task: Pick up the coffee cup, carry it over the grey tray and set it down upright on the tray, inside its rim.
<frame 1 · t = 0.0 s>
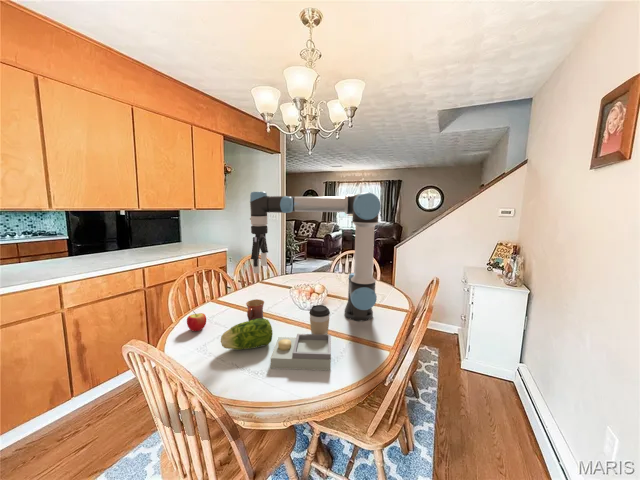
hand: (260, 269, 127), 28 cm above the table, fingers open, 13 cm apart
apple: (197, 330, 125), on the table
mug: (254, 323, 132), on the table
grey tray: (302, 357, 104), on the table
lettuce: (247, 348, 111), on the table
coffee cup: (319, 339, 118), on the table
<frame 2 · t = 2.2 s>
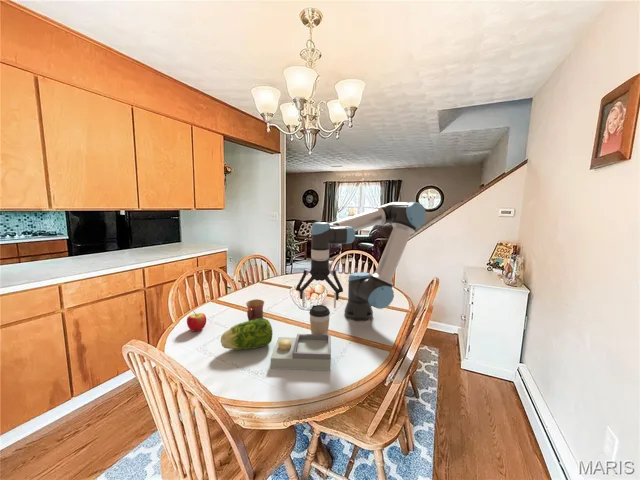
hand: (319, 306, 115), 15 cm above the table, fingers open, 13 cm apart
nothing on the table moved.
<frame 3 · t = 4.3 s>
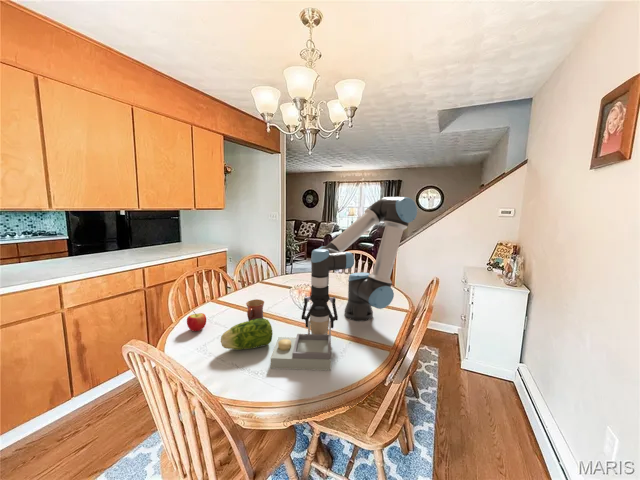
hand: (319, 334, 117), 2 cm above the table, fingers closed on coffee cup, 8 cm apart
coffee cup: (319, 339, 118), on the table, touching gripper
everything else where it was.
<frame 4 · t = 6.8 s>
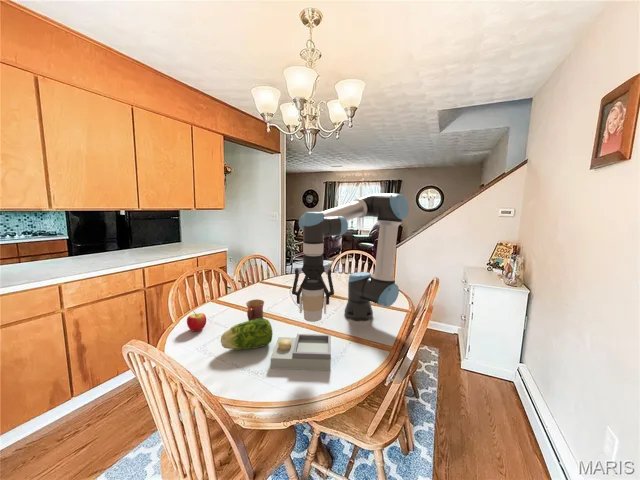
hand: (312, 311, 101), 19 cm above the table, fingers closed on coffee cup, 8 cm apart
coffee cup: (312, 318, 102), point 16 cm above the table, touching gripper
everything else where it was.
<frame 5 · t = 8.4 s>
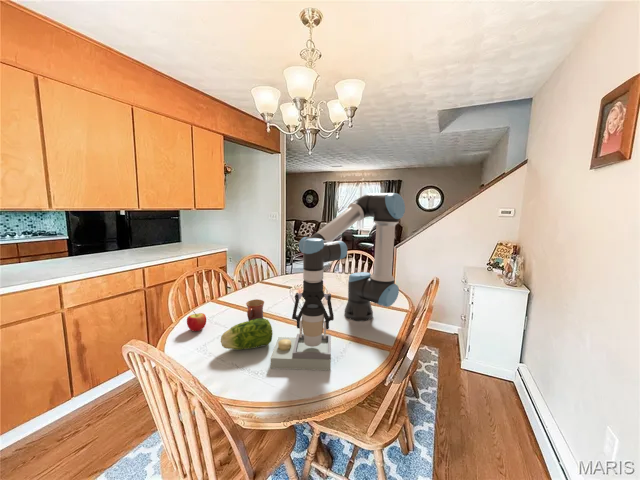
hand: (312, 336, 103), 9 cm above the table, fingers closed on coffee cup, 8 cm apart
coffee cup: (312, 342, 103), point 7 cm above the table, touching gripper
everything else where it was.
when the fingers open (8 cm above the table, at t = 9.6 s): coffee cup drops 1 cm, resting on grey tray.
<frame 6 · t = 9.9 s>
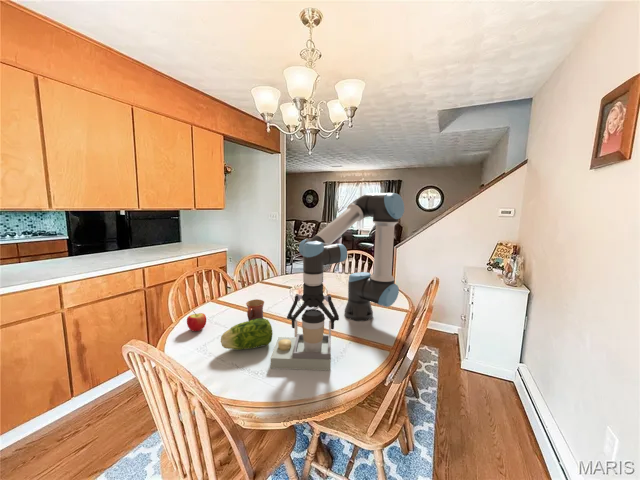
hand: (312, 336, 103), 9 cm above the table, fingers open, 12 cm apart
coffee cup: (312, 348, 103), point 4 cm above the table, touching grey tray
everything else where it was.
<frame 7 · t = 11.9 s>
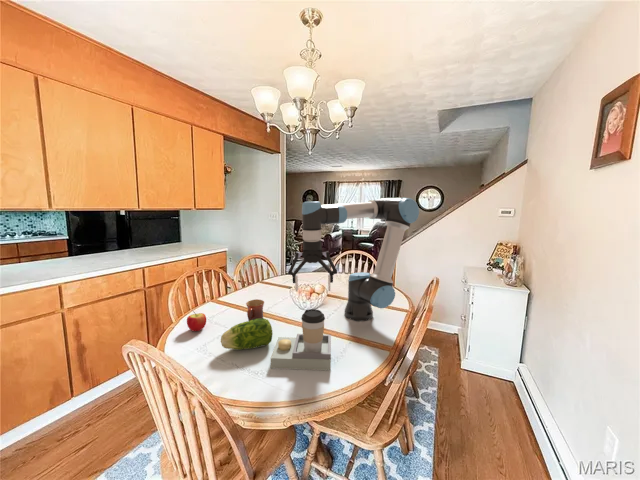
hand: (313, 290, 111), 24 cm above the table, fingers open, 13 cm apart
nothing on the table moved.
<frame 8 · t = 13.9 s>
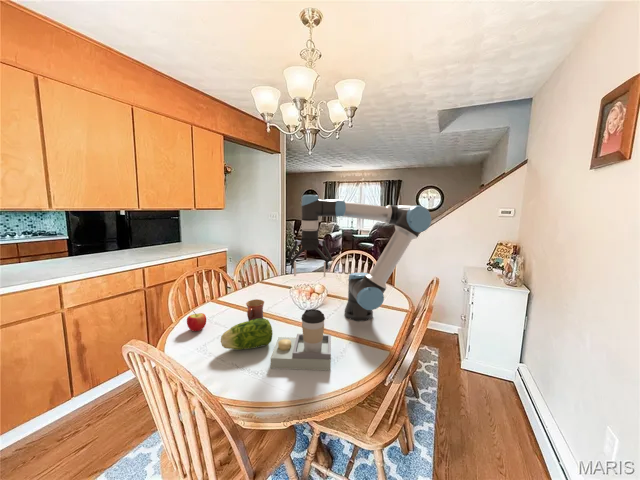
hand: (309, 275, 122), 27 cm above the table, fingers open, 13 cm apart
nothing on the table moved.
at the end: coffee cup inside the target area on the grey tray (0.0 cm from its centre), point 3.8 cm above the grey tray's base; coffee cup tilted 0°; coffee cup touching grey tray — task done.
